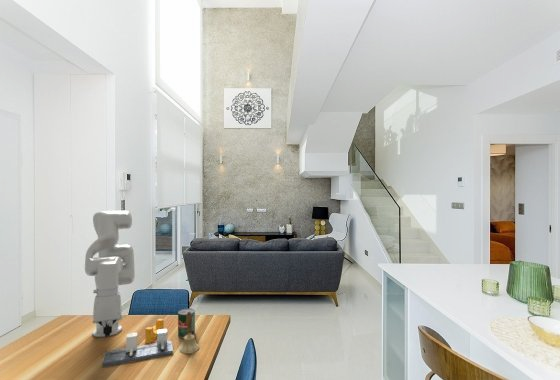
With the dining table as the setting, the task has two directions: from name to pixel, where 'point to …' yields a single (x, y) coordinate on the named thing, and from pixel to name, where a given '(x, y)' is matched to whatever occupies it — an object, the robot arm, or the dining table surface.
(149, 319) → the dining table surface
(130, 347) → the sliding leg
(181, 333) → the canned tomato
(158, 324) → the pipe clamp
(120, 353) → the plate
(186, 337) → the hand bell
